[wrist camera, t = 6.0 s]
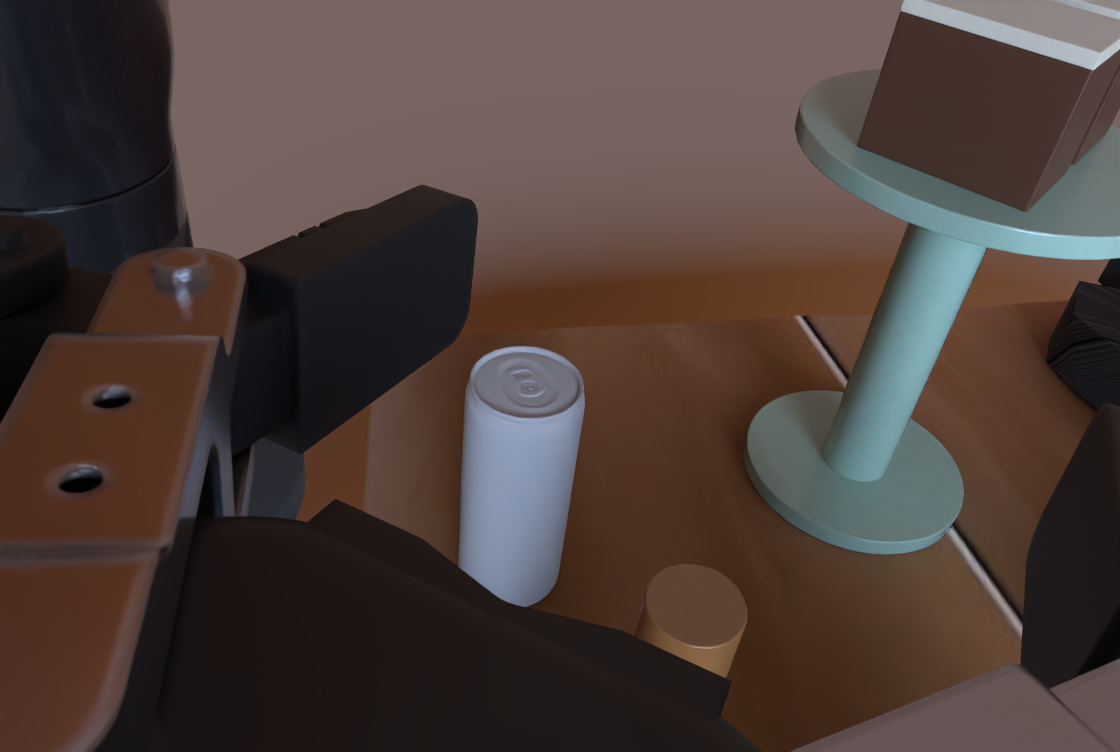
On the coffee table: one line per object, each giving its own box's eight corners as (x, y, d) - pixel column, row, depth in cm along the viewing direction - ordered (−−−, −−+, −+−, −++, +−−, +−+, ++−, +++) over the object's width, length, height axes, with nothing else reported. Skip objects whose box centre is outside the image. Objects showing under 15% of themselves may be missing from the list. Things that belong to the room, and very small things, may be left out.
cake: (1026, 213, 34) (1101, 53, 30) (855, 147, 37) (905, -6, 34) (1065, 174, 37) (1138, 24, 34) (905, 116, 41) (955, -27, 37)
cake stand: (699, 550, 46) (805, 192, 34) (714, 361, 59) (796, 48, 46) (1023, 616, 45) (1258, 270, 33) (969, 409, 57) (1123, 101, 45)
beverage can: (475, 628, 41) (489, 431, 34) (443, 549, 45) (450, 353, 37) (573, 601, 43) (607, 408, 36) (535, 526, 46) (560, 335, 39)
